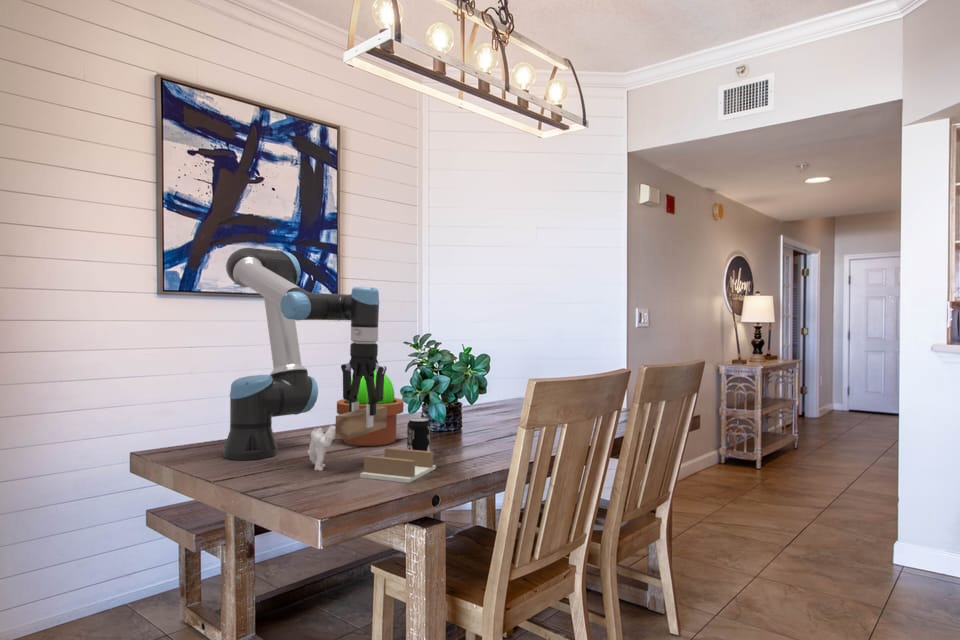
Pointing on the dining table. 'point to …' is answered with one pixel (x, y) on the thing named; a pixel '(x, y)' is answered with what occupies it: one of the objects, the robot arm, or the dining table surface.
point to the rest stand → (398, 465)
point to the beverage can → (418, 434)
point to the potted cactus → (389, 401)
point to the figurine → (320, 446)
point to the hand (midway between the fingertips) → (362, 426)
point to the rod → (359, 423)
